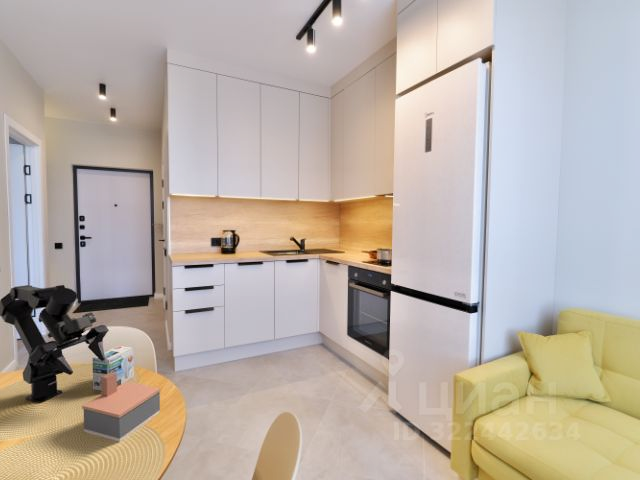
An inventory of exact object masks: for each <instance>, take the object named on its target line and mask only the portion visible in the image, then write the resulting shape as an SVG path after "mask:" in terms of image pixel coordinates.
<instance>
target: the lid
mask: <svg viewBox="0 0 640 480" xmlns="http://www.w3.org/2000/svg"><path fill="white" fill-rule="evenodd" d="M101 390H102V391H101V395H100V396H97V397H95V398H93V399H92V400H90V401H88V402H87V403H85V404H83V405H82V406H81V409H82V410H84V409H86V410H89V411H93V412H97V413H101V414H105V415H109V416H113V417H117V418H120V417H122V416H123V415H125V414H126V413H128V412H129V411H131V410H133V409H134V408H136V407H137V406H139V405H140V404H142V403H143V402H145V401H146V400H148V399H149V398H151V397H153V396H154V395H156V394H157V393H159V392H160V393H161V391H162V388H161V387H155V386H151V385H146V384H141V383H138V382H137V383H136V382H132V381H127V382H125V383H123V384H121V385H119V386H117V373H113V372H111V373H108V374H106V375H104V376H102V377H101Z"/></svg>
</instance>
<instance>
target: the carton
mask: <svg viewBox="0 0 640 480" xmlns="http://www.w3.org/2000/svg"><path fill="white" fill-rule="evenodd" d="M160 394H161V391H160V392H159V393H157V394H156V395H154V396H153V397H151V398H149V399H148V400H146V401H145V402H143V403H142V404H140V405H139V406H137V407H136V408H134V409H133V410H131V411H129V412H128V413H126V414H125V415H123V416H122V417H120V418H117V417H113V416H109V415H105V414H101V413H97V412H93V411H89V410H86V409H83V432H84V433H87V434H91V435H95V436H98V437H101V438H105V439H109V440H111V441H115V442H118V443H119V442H120V443H121V442H122V441H123V440H124V439H126V438H127V437H129V436H130V435H131V434H133V433H134V432H136V431H137V430H139V429H140V428H141V427H142V426H144V425H145V424H146V423H148V422H149V421H150V420H152V419H153V418H155V417H156V416H157V415H158V414H160V412H161V399H160V398H161V395H160Z"/></svg>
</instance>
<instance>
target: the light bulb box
mask: <svg viewBox="0 0 640 480" xmlns="http://www.w3.org/2000/svg"><path fill="white" fill-rule="evenodd" d="M134 355H135V353H134V347H130V346H122V345H117V346H114V347H112V348H110V349H108V350H106V351H104V356H105V359H104V360H103V361H101V360H100V359H99V358H98V357H97V356H96V355H95V356H93V357H92V358H91V359H92V389H93V390H95V391H101V392H102V390H101V377H102V376H104V375H106V374H108V373H111V372H113V373H117V386H119V385H121V384H123V383H125V382H127V381H128V382H130V380H132V379H134V378H135V371H134V370H135V359H134V358H135V357H134ZM133 377H134V378H133ZM131 378H132V379H131Z"/></svg>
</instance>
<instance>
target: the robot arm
mask: <svg viewBox="0 0 640 480" xmlns="http://www.w3.org/2000/svg"><path fill="white" fill-rule="evenodd" d="M77 299H78V293H77V292H76V291H75V290H73V289H71V288H69V287H66V286H65V285H64V284H60V285H59V284H58V285H56V286H50V287H43V288H42V287H41V288H40V287H36V286H33V285H29V284H26V285H20V286H14V287H12V288H10V291H9V293H7V294H6V295H5V296H3V297H2V298H1V299H0V317H1V318H2V320H3V322H4V323H7V324H10V325H13V326H14V328H15V329H16V330H15V331H16V332H17V334H18V335H19V337H20V339H21V342H22V343H23V345H24V348H25V350H26V351H27V353H28V357H27V358H28V359H27V364H26V365H25V368H24V369H23V371H22V379H23V381H24V382H26V383H27V384H29V385H30V386H31V387H30V388H31V394H30V395H28V396H26V397H25V400H28V401H32V402H35V403H38V404H39V403H43V402H45V401H47V400H49V399H52V398H53V397H56V396H57V395H60V394H62V393H63V390H61V389H58V381H57V379H58V378H57V375H60V374H64V373H65V374H67V375H69V376H71V375H72V374H73V373H74V371H73V369H72V367H71V366H70V364H69V363H68V361H67V360H66V357H65V356H64V354H63V350H65V349H68V348H70V347H73V346H76V345H79V344H82V343H85V344H87V345H88V346H87V348H88V350H90V351H91V352H92V353H93V354H94V355H95V356H97V357H98V358H99V359H100V360H101V361H103V360H104V359H105V356H104V352H105V351H104V345H103V344H104V342H103V340H104V338H105V337H106V335H107V334H108V332H109V331H110V330H109V328H108V327H107V325H105V324H100V325H98V326H93V324H94V323H97V318H96V316H95V314H93V312H88V313H84V314H83V315H82V317H79V318H71V317H70V316H69V314H68V313H69V312H71V310H72V307H73V306H74V304H75V302H76V301H77ZM42 308H43V309H42ZM38 309H42V310H41V312H39V314H38V322H39V323H42V324H43V325H44V326H45V328H46V330H47V331H48V334H47V337H48V338H53V340H50V341H48V342H46V340H45V338H44V337H43V335H42V333H41V331H40V329H39V327H38V325H37V324H36V322H35V320H34V318H33V313H34V310H38ZM87 328H90V329H89V331H88V332H87V333H86V334H83V333H85V332H86V331H87V330H86V329H87Z"/></svg>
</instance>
